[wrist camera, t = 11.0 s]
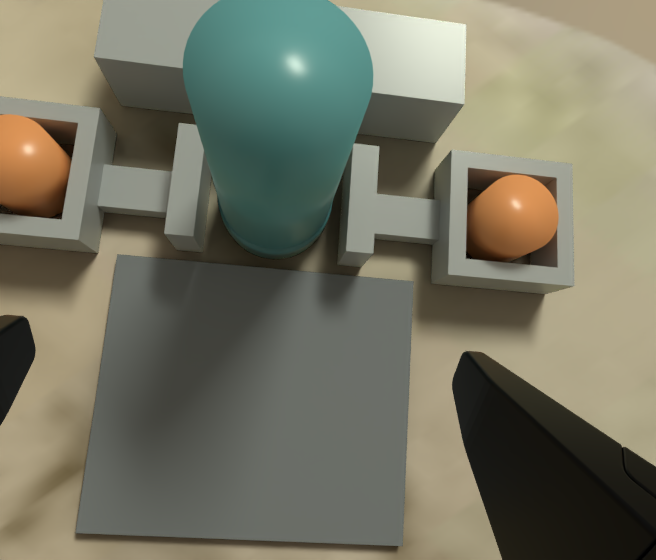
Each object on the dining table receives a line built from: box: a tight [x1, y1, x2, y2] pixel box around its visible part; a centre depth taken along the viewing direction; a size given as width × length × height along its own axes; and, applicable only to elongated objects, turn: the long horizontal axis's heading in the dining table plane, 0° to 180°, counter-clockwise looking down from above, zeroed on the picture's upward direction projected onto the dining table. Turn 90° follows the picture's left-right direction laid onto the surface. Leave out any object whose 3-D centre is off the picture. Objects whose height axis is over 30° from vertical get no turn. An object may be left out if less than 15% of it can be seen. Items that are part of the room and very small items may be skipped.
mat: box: [76, 254, 413, 546], centre depth 23 cm, size 12×14×1 cm
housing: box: [0, 0, 574, 294], centre depth 24 cm, size 12×28×4 cm, turn 86°
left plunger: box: [0, 114, 72, 218], centre depth 22 cm, size 4×4×3 cm
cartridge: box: [183, 0, 373, 259], centre depth 19 cm, size 5×5×12 cm
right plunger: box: [466, 175, 559, 263], centre depth 24 cm, size 4×4×3 cm
